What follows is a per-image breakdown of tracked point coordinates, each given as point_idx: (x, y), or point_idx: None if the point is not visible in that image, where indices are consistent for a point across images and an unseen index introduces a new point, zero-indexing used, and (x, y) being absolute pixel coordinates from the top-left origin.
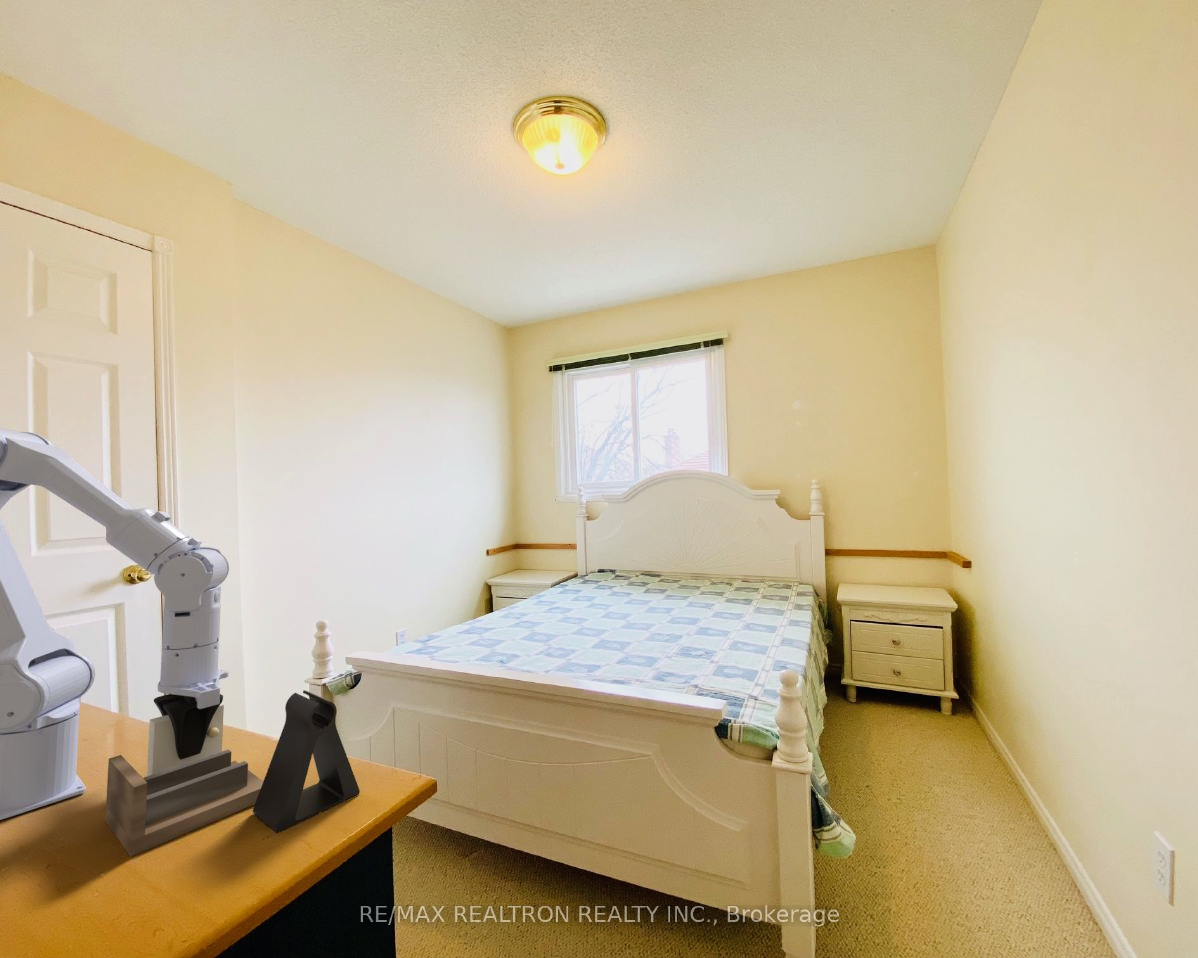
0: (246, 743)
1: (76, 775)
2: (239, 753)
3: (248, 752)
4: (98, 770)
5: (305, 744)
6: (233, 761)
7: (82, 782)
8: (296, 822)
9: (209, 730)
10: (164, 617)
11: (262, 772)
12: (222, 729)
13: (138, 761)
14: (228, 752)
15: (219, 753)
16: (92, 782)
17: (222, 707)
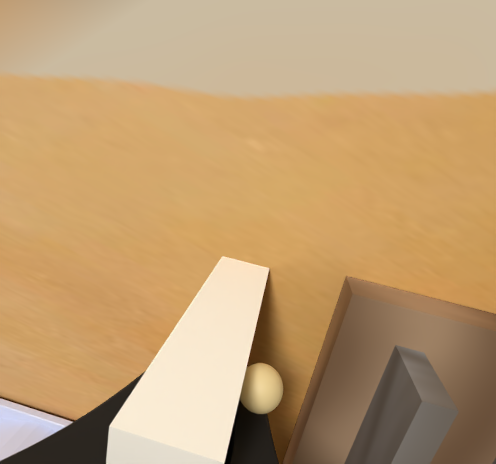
0: (162, 121)
1: (16, 411)
2: (221, 183)
3: (243, 165)
4: (7, 365)
5: None
6: (350, 298)
7: (65, 426)
8: None
9: (256, 412)
10: None
11: (438, 243)
12: (250, 341)
13: (25, 314)
14: (450, 416)
15: (421, 431)
16: (64, 399)
17: (224, 448)
